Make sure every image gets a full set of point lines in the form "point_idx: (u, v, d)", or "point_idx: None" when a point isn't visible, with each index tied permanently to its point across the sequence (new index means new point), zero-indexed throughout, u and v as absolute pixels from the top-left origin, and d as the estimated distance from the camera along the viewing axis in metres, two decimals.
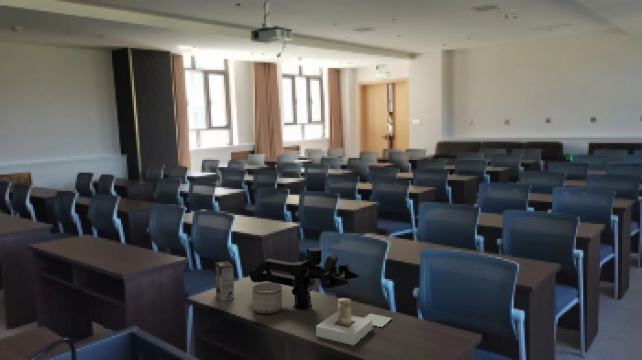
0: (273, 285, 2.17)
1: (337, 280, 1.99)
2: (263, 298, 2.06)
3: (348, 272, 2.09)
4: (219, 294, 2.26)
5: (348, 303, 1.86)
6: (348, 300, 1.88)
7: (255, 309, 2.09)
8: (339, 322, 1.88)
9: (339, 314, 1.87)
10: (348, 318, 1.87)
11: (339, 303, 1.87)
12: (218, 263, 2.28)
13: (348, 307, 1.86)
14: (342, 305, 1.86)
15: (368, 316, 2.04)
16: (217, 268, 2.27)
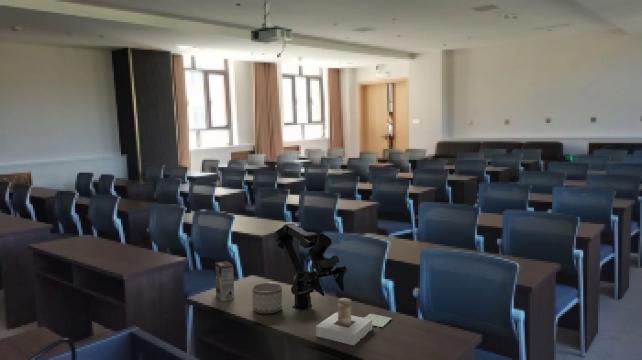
0: (273, 285, 2.17)
1: (317, 286, 1.93)
2: (263, 298, 2.06)
3: (339, 279, 1.99)
4: (219, 294, 2.26)
5: (348, 303, 1.86)
6: (348, 300, 1.88)
7: (255, 309, 2.09)
8: (339, 322, 1.88)
9: (339, 314, 1.87)
10: (348, 318, 1.87)
11: (339, 303, 1.87)
12: (218, 263, 2.28)
13: (348, 307, 1.86)
14: (342, 305, 1.86)
15: (368, 316, 2.04)
16: (217, 268, 2.27)
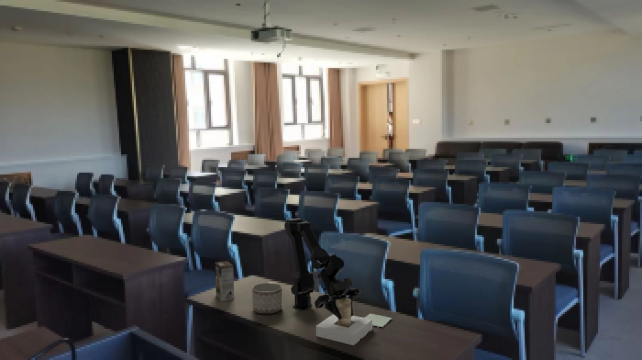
0: (273, 285, 2.17)
1: (334, 309, 1.87)
2: (263, 298, 2.06)
3: None
4: (219, 294, 2.26)
5: (348, 303, 1.86)
6: (348, 300, 1.88)
7: (255, 309, 2.09)
8: (339, 322, 1.88)
9: None
10: (348, 318, 1.87)
11: (339, 303, 1.87)
12: (218, 263, 2.28)
13: (348, 307, 1.86)
14: (342, 305, 1.86)
15: (368, 316, 2.04)
16: (217, 268, 2.27)
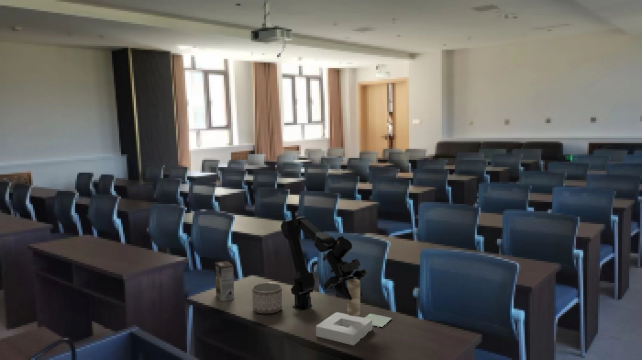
0: (273, 285, 2.17)
1: (343, 290, 1.88)
2: (263, 298, 2.06)
3: None
4: (219, 294, 2.26)
5: (358, 283, 1.87)
6: (357, 281, 1.89)
7: (255, 309, 2.09)
8: (349, 303, 1.88)
9: None
10: (358, 298, 1.88)
11: (349, 284, 1.88)
12: (218, 263, 2.28)
13: (358, 287, 1.88)
14: (352, 286, 1.87)
15: (368, 316, 2.04)
16: (217, 268, 2.27)
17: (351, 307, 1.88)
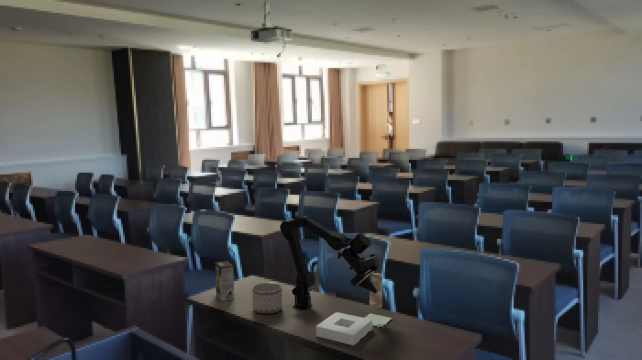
0: (273, 285, 2.17)
1: (368, 284, 1.96)
2: (263, 298, 2.06)
3: None
4: (219, 294, 2.26)
5: (381, 276, 1.97)
6: (379, 274, 1.99)
7: (255, 309, 2.09)
8: (373, 296, 1.97)
9: None
10: (381, 291, 1.98)
11: (374, 278, 1.96)
12: (218, 263, 2.28)
13: (381, 280, 1.97)
14: (377, 279, 1.96)
15: (368, 316, 2.04)
16: (217, 268, 2.27)
17: (376, 300, 1.97)
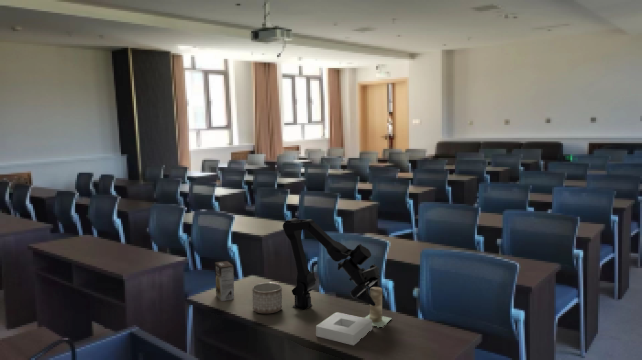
0: (273, 285, 2.17)
1: (367, 297, 1.94)
2: (263, 298, 2.06)
3: None
4: (219, 294, 2.26)
5: (381, 291, 1.98)
6: (379, 288, 1.99)
7: (255, 309, 2.09)
8: (373, 310, 1.97)
9: None
10: (381, 305, 1.98)
11: (374, 292, 1.97)
12: (218, 263, 2.28)
13: (381, 294, 1.98)
14: (377, 294, 1.96)
15: (368, 316, 2.04)
16: (217, 268, 2.27)
17: (376, 314, 1.97)
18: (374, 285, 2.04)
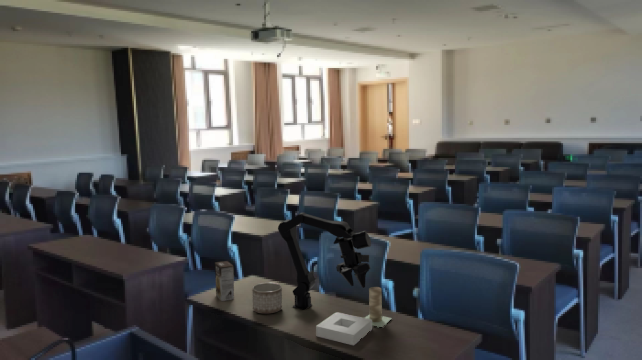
0: (273, 285, 2.17)
1: (363, 277, 2.02)
2: (263, 298, 2.06)
3: (350, 274, 2.12)
4: (219, 294, 2.26)
5: None
6: (378, 288, 1.99)
7: (255, 309, 2.09)
8: (373, 310, 1.97)
9: (373, 303, 1.97)
10: (381, 304, 1.98)
11: (373, 292, 1.97)
12: (218, 263, 2.28)
13: (381, 294, 1.98)
14: (376, 294, 1.96)
15: (368, 316, 2.04)
16: (217, 268, 2.27)
17: (376, 314, 1.97)
18: (348, 271, 2.12)
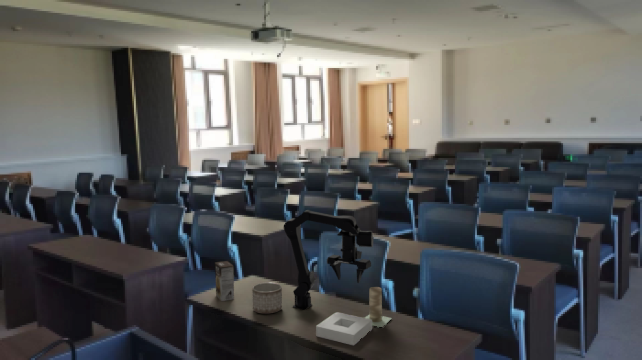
0: (273, 285, 2.17)
1: (361, 273, 2.07)
2: (263, 298, 2.06)
3: (339, 268, 2.13)
4: (219, 294, 2.26)
5: (381, 290, 1.98)
6: (378, 288, 1.99)
7: (255, 309, 2.09)
8: (373, 310, 1.97)
9: (373, 302, 1.97)
10: (381, 304, 1.99)
11: (373, 292, 1.97)
12: (218, 263, 2.28)
13: (381, 294, 1.98)
14: (376, 293, 1.96)
15: (368, 316, 2.04)
16: (217, 268, 2.27)
17: (376, 314, 1.97)
18: (338, 265, 2.13)
